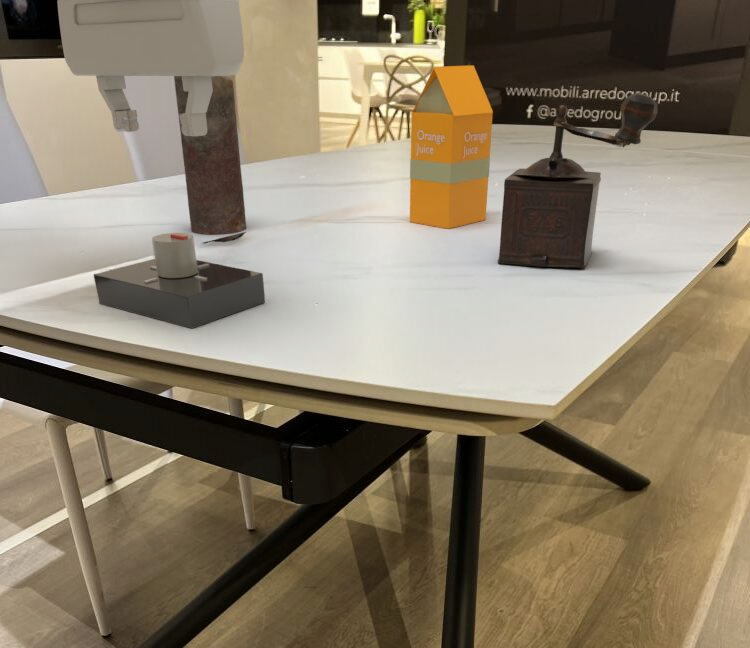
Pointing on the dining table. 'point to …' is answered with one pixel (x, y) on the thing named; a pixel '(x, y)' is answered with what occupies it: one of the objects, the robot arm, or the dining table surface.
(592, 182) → the manual coffee grinder
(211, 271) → the dark grey flat block
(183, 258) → the knob
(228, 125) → the rusty brown cylinder
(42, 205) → the dining table surface
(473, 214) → the orange juice
